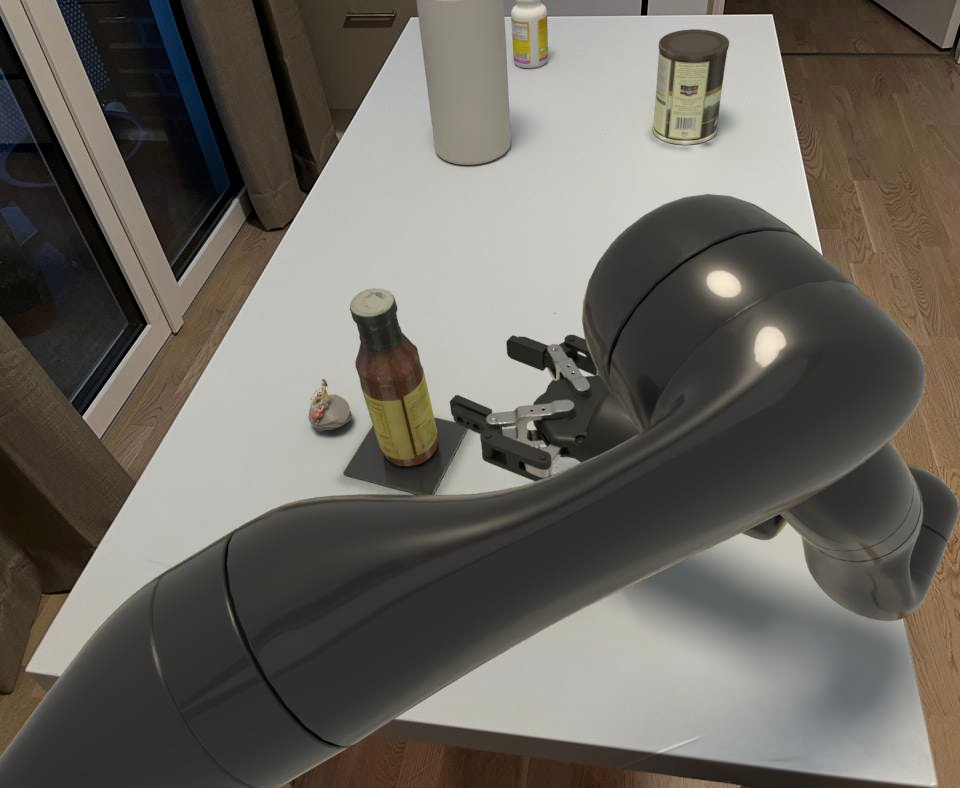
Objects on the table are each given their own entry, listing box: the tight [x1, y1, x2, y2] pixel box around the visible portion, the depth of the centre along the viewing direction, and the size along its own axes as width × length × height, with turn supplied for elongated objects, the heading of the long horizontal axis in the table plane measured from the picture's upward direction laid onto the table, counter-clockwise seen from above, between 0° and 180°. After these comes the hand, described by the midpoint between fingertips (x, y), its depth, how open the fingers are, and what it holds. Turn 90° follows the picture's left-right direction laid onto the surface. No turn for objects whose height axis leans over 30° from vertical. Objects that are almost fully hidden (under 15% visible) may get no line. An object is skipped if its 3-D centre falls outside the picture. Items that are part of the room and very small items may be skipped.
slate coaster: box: [343, 416, 469, 495], centre depth 84 cm, size 10×10×1 cm
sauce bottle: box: [349, 287, 437, 466], centre depth 77 cm, size 6×6×20 cm
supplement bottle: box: [510, 0, 549, 69], centre depth 148 cm, size 7×7×13 cm
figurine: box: [308, 378, 353, 432], centre depth 86 cm, size 5×4×6 cm
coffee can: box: [652, 28, 730, 146], centre depth 124 cm, size 10×10×14 cm
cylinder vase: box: [415, 0, 512, 166], centre depth 121 cm, size 12×12×25 cm
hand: (481, 374), depth 68 cm, fingers open, 8 cm apart
